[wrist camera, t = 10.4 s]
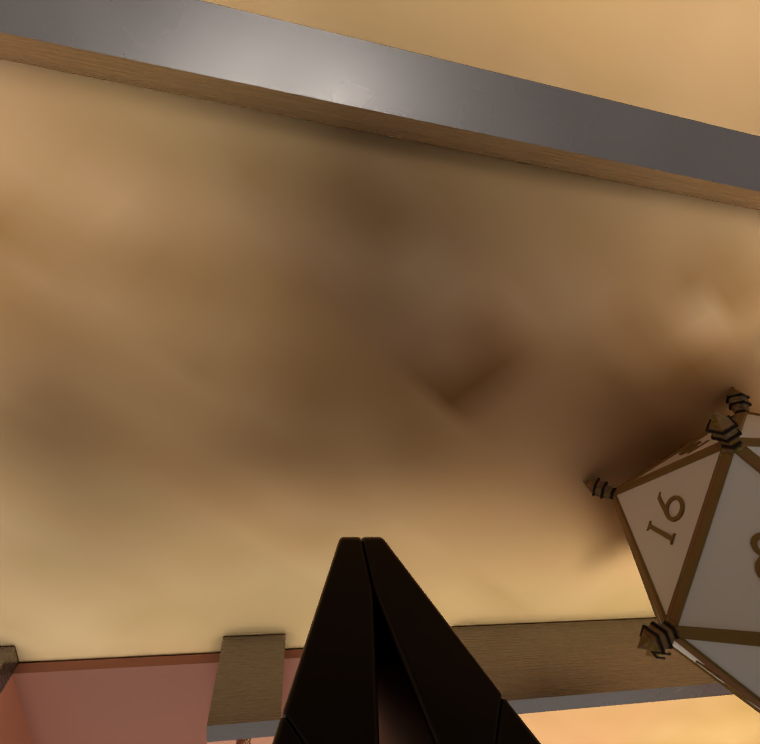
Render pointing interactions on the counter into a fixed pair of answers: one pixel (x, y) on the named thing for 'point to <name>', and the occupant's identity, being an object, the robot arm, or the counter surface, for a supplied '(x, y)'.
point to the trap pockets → (118, 700)
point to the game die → (702, 548)
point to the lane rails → (431, 126)
